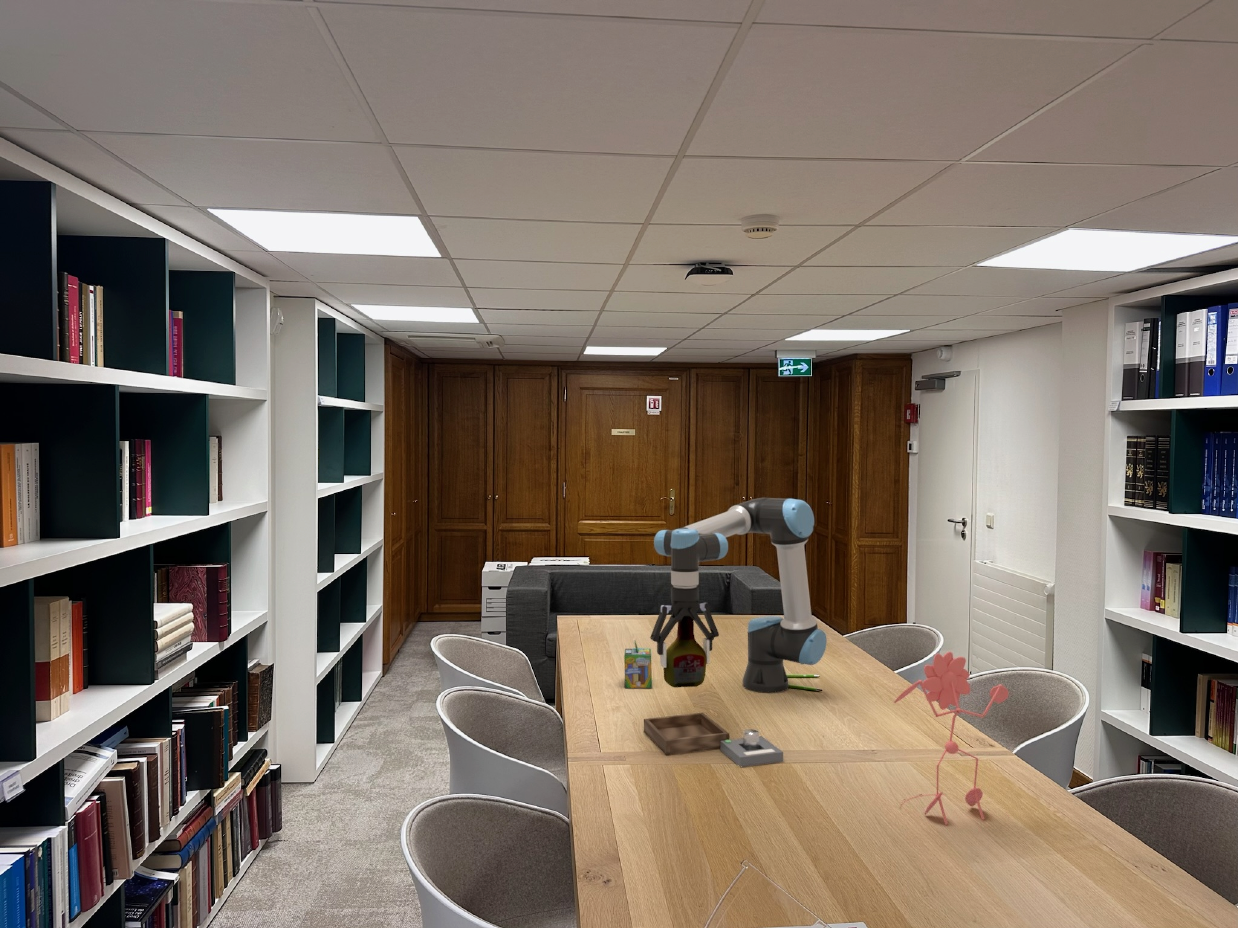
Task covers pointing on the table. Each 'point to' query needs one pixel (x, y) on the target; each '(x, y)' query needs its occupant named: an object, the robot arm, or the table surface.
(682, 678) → the bottle
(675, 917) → the table surface
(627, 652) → the chalk box
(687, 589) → the robot arm
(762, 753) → the grey flat square piece
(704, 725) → the tray
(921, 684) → the figurine
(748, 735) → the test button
